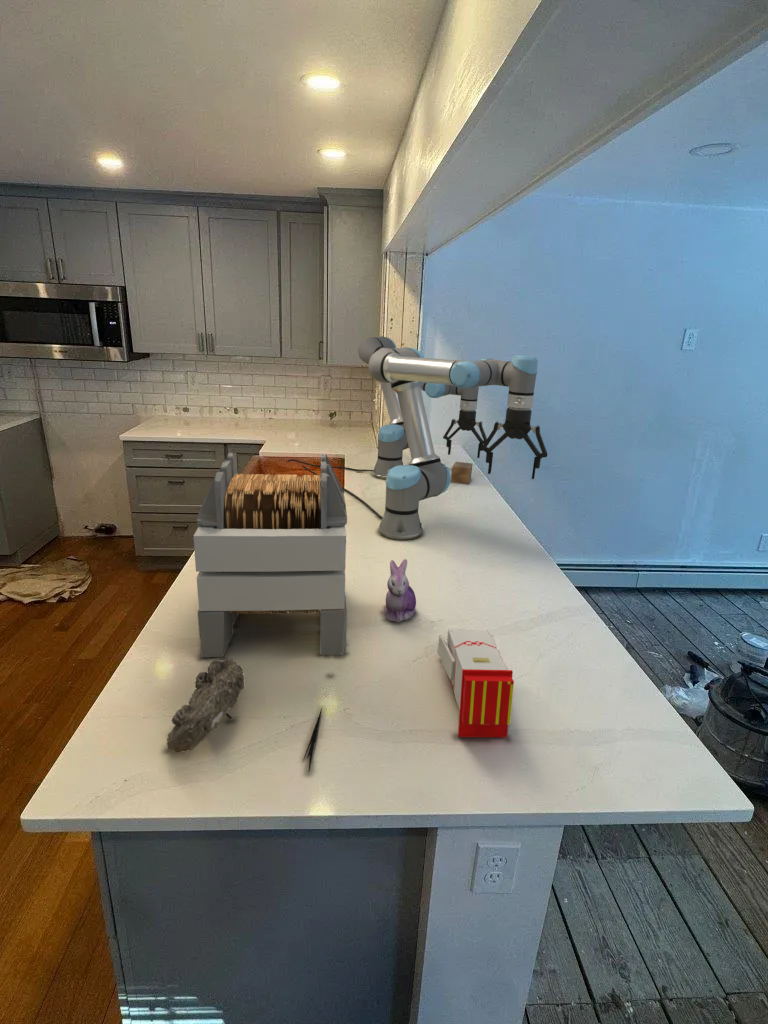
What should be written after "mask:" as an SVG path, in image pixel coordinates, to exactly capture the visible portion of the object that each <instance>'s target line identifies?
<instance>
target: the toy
mask: <svg viewBox="0 0 768 1024" xmlns="http://www.w3.org/2000/svg"><path fill="white" fill-rule="evenodd" d="M446 640H447V643H446V641H445V639H444V636H443V635H442V634H439V637H438V646H437V656H438V657H439V659H440V661H441V663H442V666H443V668H444V670H445V672H446V674H447V677H448V679H449V681H450V684H451V687H452V690H453V693H454V697H455V701H456V705H457V708H458V711H459V714H458V715H459V716H458V730H457V731H458V732H457V737H458V738H508V731H509V726H510V725H511V717H512V707H513V697H514V696H513V695H514V684H515V680H514V679H513V673H514V671H513V670H512V669H508V667H507V665H506V662H505V661H504V659H503V658H502V655H501V653H500V651H499V649H498V647H497V643H496V639H495V637H494V635H493V634H491V632H490V631H489V629H467V628H466V629H465V628H463V629H461V628H460V629H459V628H448V630H447V639H446Z"/></svg>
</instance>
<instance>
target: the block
mask: <svg viewBox="0 0 768 1024" xmlns="http://www.w3.org/2000/svg"><path fill="white" fill-rule="evenodd" d="M451 469H452V470H451V481H450V483H456V484H462V485H469V484H470V482H471V480H472V472H473V463H471V462H463V461H455V462H454V463H453V465H452V466H451Z"/></svg>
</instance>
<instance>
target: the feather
mask: <svg viewBox="0 0 768 1024" xmlns="http://www.w3.org/2000/svg"><path fill="white" fill-rule="evenodd" d="M329 675H330V676H331V675H332V674H331V673H330V674H329ZM322 710H323V707H321V708H320V710H319V713H318V716H317V719H316V723H315V725H314V728H313V731H312V733H311V737H310V739H309V742H308V745H307V748H306V751H305V754H304V757H303V760H302V763H301V767H302V765H303V763H304V761H305V758H308V759H309V760H308V762H307V763H308V764H307V766H308V771H310V770H311V766H312V765H311V764H312V760H313V757H315V756H314V755H315V751H316V749H315V746H317V739H318V733H319V729H320V722H321V717H322V712H323V711H322ZM313 754H314V755H313ZM306 755H307V757H306Z"/></svg>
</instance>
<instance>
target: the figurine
mask: <svg viewBox="0 0 768 1024" xmlns="http://www.w3.org/2000/svg"><path fill="white" fill-rule="evenodd" d="M407 567H408V559H406V558H404V559H403V560H402V561H401V563H400V565H399V566H398V565H397V563H396V562H395V561H394V560H393V559H391V560H390V561H389V570H390V576H389V578H388V579H387V589H388V591H387V592H386V594H385V595H386V596H385V607H384V615H385V616H386V620H387V621H391V622H395V623H400V622H402V621H406V620H409V619H410V618H411V617H413V616H414V615H415V610H416V606H417V597H416V593H415V591H414V590H413V587H411V586H410V582H409V579H408V577H407V574H406V571H407Z"/></svg>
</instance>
